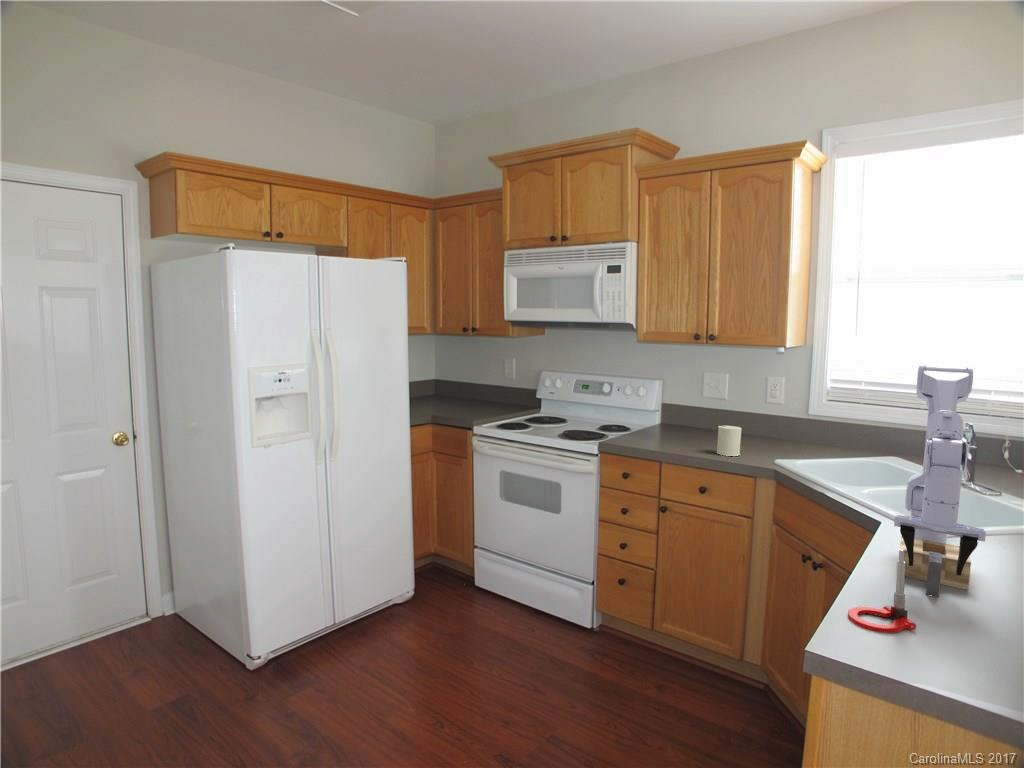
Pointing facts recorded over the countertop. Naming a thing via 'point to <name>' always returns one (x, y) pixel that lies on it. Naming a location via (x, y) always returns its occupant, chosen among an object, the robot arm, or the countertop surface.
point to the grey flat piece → (933, 574)
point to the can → (729, 440)
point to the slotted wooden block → (948, 562)
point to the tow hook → (894, 612)
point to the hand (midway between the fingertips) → (934, 569)
